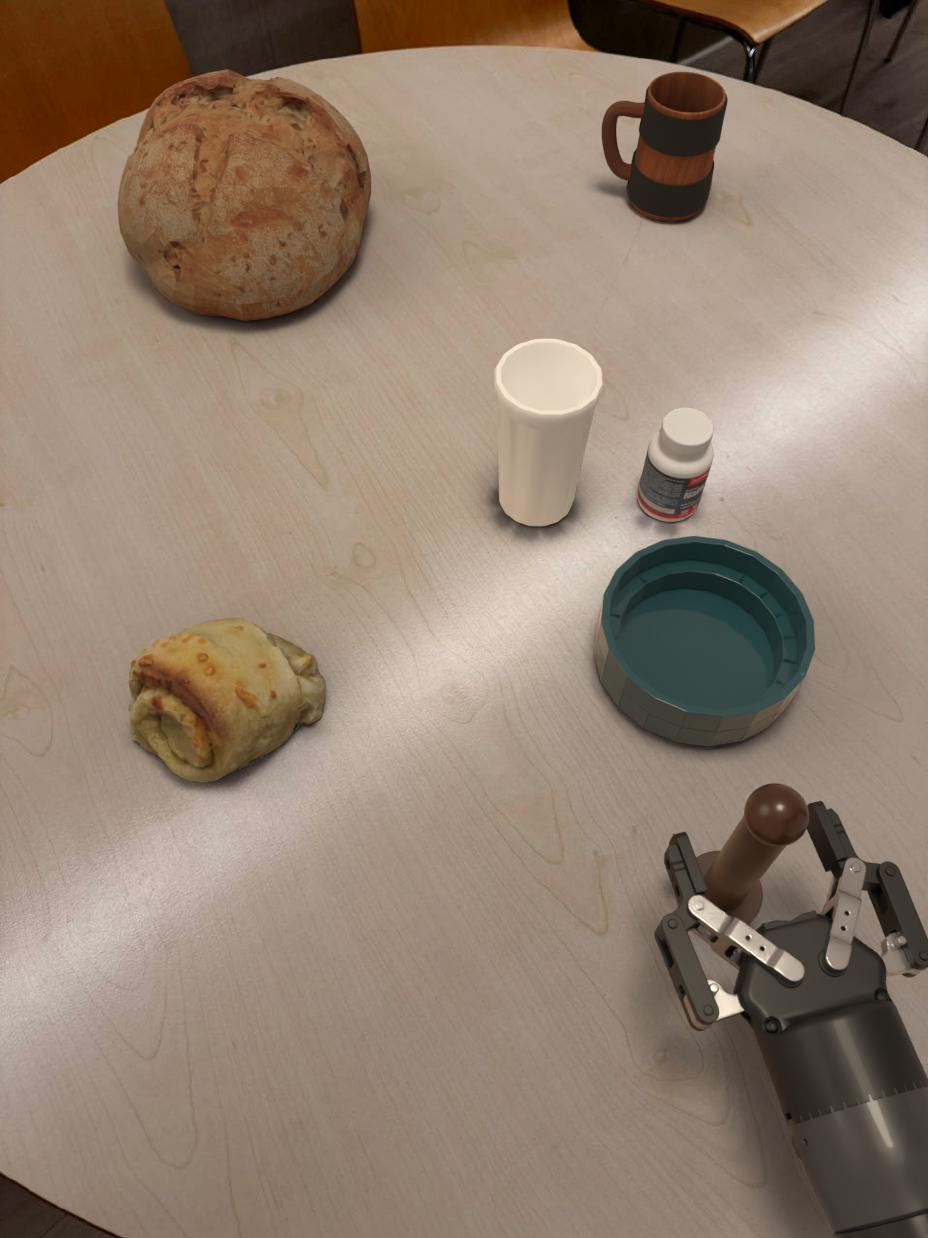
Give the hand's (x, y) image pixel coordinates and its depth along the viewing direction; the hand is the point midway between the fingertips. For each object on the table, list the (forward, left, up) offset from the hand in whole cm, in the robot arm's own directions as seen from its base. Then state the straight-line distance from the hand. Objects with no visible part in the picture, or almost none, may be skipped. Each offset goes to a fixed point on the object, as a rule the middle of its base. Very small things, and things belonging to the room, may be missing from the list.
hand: (743, 821), depth 61 cm
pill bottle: (-16, -29, -10) cm, 34 cm away
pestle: (0, +2, -10) cm, 10 cm away
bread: (+3, -76, -10) cm, 76 cm away
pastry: (+24, -27, -10) cm, 37 cm away
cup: (-6, -34, -10) cm, 35 cm away
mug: (-37, -64, -10) cm, 74 cm away
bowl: (-9, -15, -10) cm, 20 cm away
